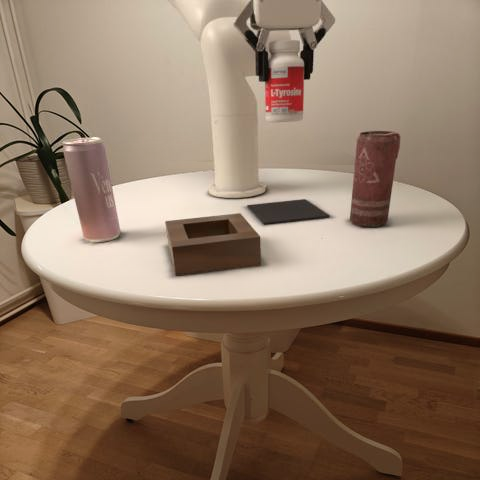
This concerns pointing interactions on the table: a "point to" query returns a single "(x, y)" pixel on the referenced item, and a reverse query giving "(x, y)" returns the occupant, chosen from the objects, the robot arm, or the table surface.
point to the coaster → (286, 211)
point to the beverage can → (92, 188)
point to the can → (373, 177)
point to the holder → (212, 244)
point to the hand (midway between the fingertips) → (284, 79)
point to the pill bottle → (284, 82)
